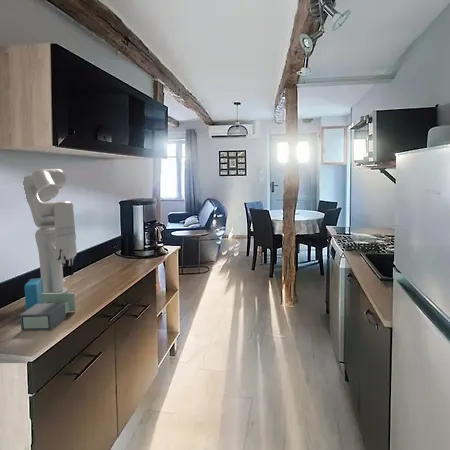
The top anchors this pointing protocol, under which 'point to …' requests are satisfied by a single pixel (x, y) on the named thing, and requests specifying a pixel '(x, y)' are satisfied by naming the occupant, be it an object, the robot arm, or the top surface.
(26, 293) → the data package
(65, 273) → the robot arm
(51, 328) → the mailer sleeve
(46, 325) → the tray
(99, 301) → the top surface
